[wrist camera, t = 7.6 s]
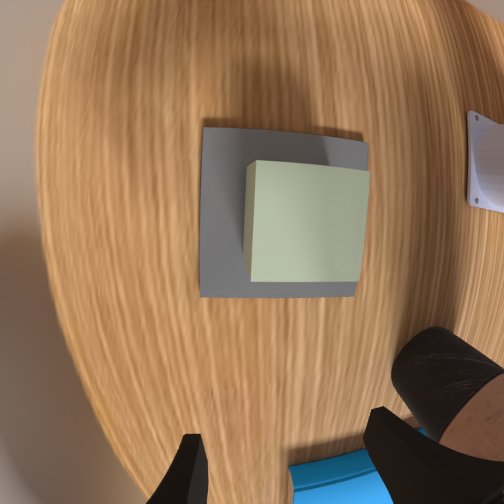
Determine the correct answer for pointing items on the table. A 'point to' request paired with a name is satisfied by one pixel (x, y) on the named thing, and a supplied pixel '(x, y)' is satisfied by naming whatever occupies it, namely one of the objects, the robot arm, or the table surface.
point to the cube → (304, 222)
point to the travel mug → (453, 393)
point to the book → (338, 481)
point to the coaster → (233, 205)
